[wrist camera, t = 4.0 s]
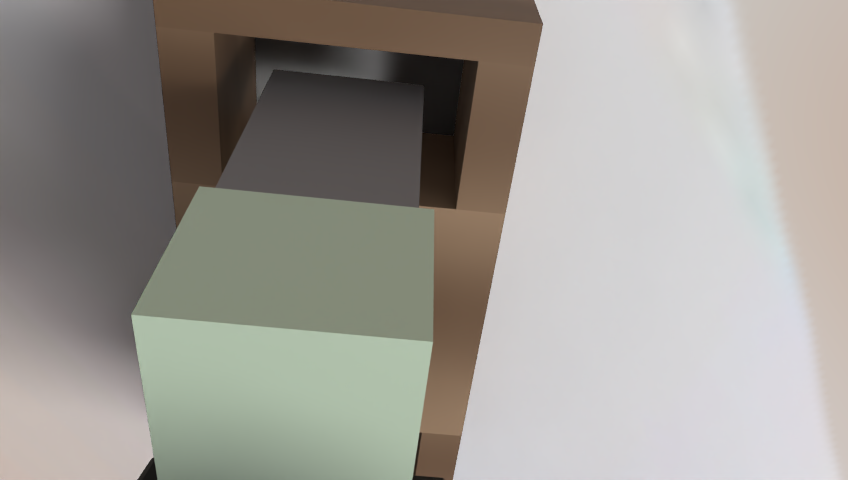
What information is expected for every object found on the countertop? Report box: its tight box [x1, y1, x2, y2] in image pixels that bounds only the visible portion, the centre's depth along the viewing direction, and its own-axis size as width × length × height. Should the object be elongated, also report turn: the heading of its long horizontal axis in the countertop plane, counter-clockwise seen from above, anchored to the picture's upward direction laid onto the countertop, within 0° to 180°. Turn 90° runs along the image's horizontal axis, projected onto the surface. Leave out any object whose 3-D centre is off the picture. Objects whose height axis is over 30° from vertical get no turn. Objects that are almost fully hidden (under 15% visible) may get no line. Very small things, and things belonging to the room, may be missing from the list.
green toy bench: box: [131, 70, 434, 480], centre depth 13 cm, size 10×3×6 cm, turn 174°
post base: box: [153, 0, 543, 480], centre depth 16 cm, size 13×6×3 cm, turn 174°
